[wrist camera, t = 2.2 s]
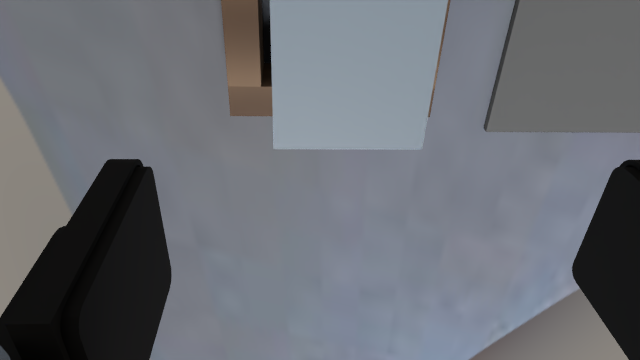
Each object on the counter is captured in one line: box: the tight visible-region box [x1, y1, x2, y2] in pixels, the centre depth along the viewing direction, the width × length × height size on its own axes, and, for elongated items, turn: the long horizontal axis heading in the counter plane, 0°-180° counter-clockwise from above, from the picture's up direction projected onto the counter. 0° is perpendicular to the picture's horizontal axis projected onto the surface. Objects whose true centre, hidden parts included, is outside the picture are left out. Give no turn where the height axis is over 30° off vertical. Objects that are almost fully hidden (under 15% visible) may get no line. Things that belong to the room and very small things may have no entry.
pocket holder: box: [221, 0, 450, 117], centre depth 22 cm, size 10×10×3 cm
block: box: [270, 0, 448, 150], centre depth 19 cm, size 5×5×10 cm
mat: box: [484, 0, 640, 133], centre depth 24 cm, size 14×12×1 cm
